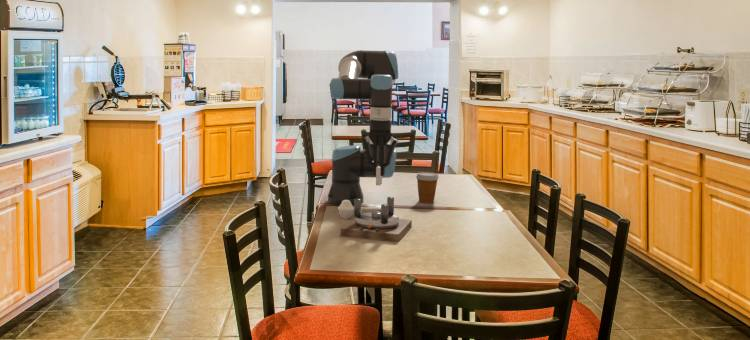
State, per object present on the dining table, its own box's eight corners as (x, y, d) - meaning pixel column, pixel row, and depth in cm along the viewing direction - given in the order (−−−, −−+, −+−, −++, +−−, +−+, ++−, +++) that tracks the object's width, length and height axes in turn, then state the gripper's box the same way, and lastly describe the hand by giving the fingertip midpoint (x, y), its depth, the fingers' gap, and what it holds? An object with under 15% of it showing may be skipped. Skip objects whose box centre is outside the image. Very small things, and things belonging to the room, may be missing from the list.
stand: (340, 235, 200) (340, 226, 199) (358, 221, 219) (358, 212, 218) (398, 241, 195) (398, 232, 194) (411, 226, 214) (411, 217, 213)
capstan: (348, 219, 210) (349, 197, 209) (387, 216, 216) (388, 194, 215) (366, 231, 196) (367, 207, 195) (407, 227, 202) (408, 204, 201)
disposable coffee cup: (436, 204, 250) (437, 176, 248) (413, 203, 252) (414, 175, 249) (438, 199, 259) (439, 172, 257) (416, 198, 261) (417, 171, 259)
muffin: (346, 220, 220) (346, 202, 219) (334, 217, 224) (334, 199, 223) (357, 217, 225) (357, 199, 223) (345, 214, 229) (346, 197, 227)
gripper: (359, 119, 209) (358, 185, 213) (395, 121, 205) (393, 188, 210) (365, 117, 216) (364, 181, 220) (401, 119, 212) (398, 183, 217)
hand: (378, 184), depth 215 cm, fingers closed
